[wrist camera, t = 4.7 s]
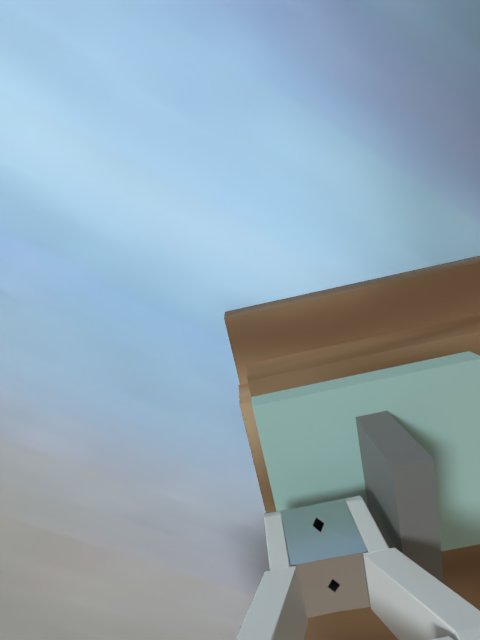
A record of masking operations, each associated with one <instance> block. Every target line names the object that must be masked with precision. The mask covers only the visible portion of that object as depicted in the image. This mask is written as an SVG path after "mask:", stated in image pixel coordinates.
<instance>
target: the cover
mask: <svg viewBox="0 0 480 640" xmlns="http://www.w3.org/2000/svg"><path fill="white" fill-rule="evenodd" d="M251 402H252V408H253V413H254V417H255V421H256V426H257V430H258V434H259V439H260V443H261V447H262V451H263V456H264V460H265V464H266V469H267V473H268V477H269V481H270V486H271V490H272V494H273V499H274V503H275V507H276V512H277V511H280V512H281V510H287V509H294V508H300V507H306V506H312V505H315V504H320V503H324V502H329V501H334V500H339V499H345V498H350V497H355V496H361V497H362V498H363V500H364V502H365V503H366V505H367V507H368V509H369V511H370V513H371V515H372V517H373V518H374V520H375V522H376V524H377V526H378V528H379V530H380V532H381V534H382V535H383V537H384V539H385V541H386V543H387V545H388V547H389V548H396V549H397V550H399V551H400V552H401V553H403V554H404V555H405V556H407V557H408V558H410V559H411V560H412V561H414V562H415V563H416V564H418V565H419V566H420V567H422V568H423V569H424V570H426V571H427V572H428V573H430V574H431V575H432V576H434V577H435V578H436V579H438V580H439V581H440V582H442V583H443V569H442V556H441V551H447V550H452V549H457V548H462V547H467V546H473V545H478V544H480V355H477V354H475V353H472V352H470V351H467V352H462V353H457V354H453V355H448V356H443V357H439V358H434V359H429V360H424V361H420V362H415V363H410V364H405V365H401V366H396V367H391V368H386V369H382V370H377V371H372V372H367V373H363V374H358V375H353V376H348V377H344V378H339V379H334V380H329V381H325V382H320V383H315V384H310V385H306V386H301V387H296V388H292V389H287V390H282V391H277V392H273V393H268V394H263V395H258V396H254V397H251ZM443 584H444V583H443Z"/></svg>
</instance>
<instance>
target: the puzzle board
mask: <svg viewBox="0 0 480 640" xmlns="http://www.w3.org/2000/svg"><path fill="white" fill-rule="evenodd" d="M224 319H225V323H226V327H227V332H228V336H229V340H230V344H231V348H232V353H233V357H234V361H235V365H236V369H237V373H238V378H239V382H240V385H239V399H240V408H241V412H242V416H243V420H244V424H245V428H246V432H247V437H248V441H249V445H250V449H251V453H252V457H253V461H254V465H255V469H256V474H257V478H258V482H259V486H260V490H261V494H262V498H263V502H264V506H265V510H266V513H271V512H276V507H275V503H274V499H273V494H272V490H271V486H270V481H269V477H268V473H267V469H266V464H265V460H264V456H263V451H262V447H261V443H260V439H259V434H258V430H257V426H256V421H255V417H254V413H253V408H252V402H251V397H254V396H258V395H263V394H268V393H273V392H277V391H282V390H287V389H292V388H296V387H301V386H306V385H310V384H315V383H320V382H325V381H329V380H334V379H339V378H344V377H348V376H353V375H358V374H363V373H367V372H372V371H377V370H382V369H386V368H391V367H396V366H401V365H405V364H410V363H415V362H420V361H424V360H429V359H434V358H439V357H443V356H448V355H453V354H457V353H462V352H467V351H470V352H472V353H475V354H477V355H480V256H477V257H473V258H468V259H464V260H459V261H454V262H450V263H445V264H441V265H436V266H432V267H427V268H423V269H418V270H414V271H409V272H404V273H400V274H395V275H391V276H386V277H382V278H377V279H373V280H368V281H364V282H359V283H355V284H350V285H345V286H341V287H336V288H332V289H327V290H323V291H318V292H314V293H309V294H305V295H300V296H296V297H291V298H286V299H282V300H277V301H273V302H268V303H264V304H259V305H255V306H250V307H246V308H241V309H237V310H232V311H227V312H225V317H224ZM441 556H442V569H443V583H444V585H446V586H447V587H449V588H450V589H451V590H453V591H454V592H455V593H457V594H458V595H459V596H461V597H462V598H463V599H465V600H466V601H467V602H469V603H470V604H471V605H473V606H474V607H475V608H477V609H478V610H479V611H480V544H478V545H473V546H467V547H462V548H457V549H452V550H447V551H441ZM307 619H308V623H307V628H306V632H305V637H304V640H398V639H397V637H396V636H395V635H394V634H393V633H392V632H391V631H390V630H389V628H388V627H387V626H386V625H385V624H384V623H383V622H382V621H381V620H380V618H379V617H378V616H377V615H376V614H375V613H374V612H373V611H372V609H371V607H366V608H359V609H352V610H345V611H338V612H333V613H329V614H324V615H320V616H315V617H311V618H307Z"/></svg>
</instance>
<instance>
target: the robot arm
mask: <svg viewBox="0 0 480 640" xmlns="http://www.w3.org/2000/svg"><path fill="white" fill-rule="evenodd" d="M264 522H265V531H266V540H267V549H268V558H269V567H270V571H265V572H264V575H263V577H262V579H261V582H260V584H259V586H258V589H257V591H256V593H255V596H254V598H253V600H252V603H251V605H250V607H249V610H248V612H247V614H246V617H245V619H244V621H243V624H242V626H241V628H240V631H239V633H238V635H237V638H236V640H304V637H305V632H306V628H307V623H308V619H307V618H311V617H315V616H320V615H324V614H329V613H333V612H338V611H345V610H352V609H359V608H366V607H371V609H372V611H373V612H374V613H375V614H376V615H377V616H378V617H379V618H380V620H381V621H382V622H383V623H384V624H385V625H386V626H387V627H388V628H389V630H390V631H391V632H392V633H393V634H394V635H395V636H396V637H397V639H398V640H480V611H479V610H478V609H477V608H475V607H474V606H473V605H471V604H470V603H469V602H467V601H466V600H465V599H463V598H462V597H461V596H459V595H458V594H457V593H455V592H454V591H453V590H451V589H450V588H449V587H447V586H446V585H444V584H443V583H442V582H440V581H439V580H438V579H436V578H435V577H434V576H432V575H431V574H430V573H428V572H427V571H426V570H424V569H423V568H422V567H420V566H419V565H418V564H416V563H415V562H414V561H412V560H411V559H410V558H408V557H407V556H405V555H404V554H403V553H401V552H400V551H399V550H397V549H396V548H389V547H388V545H387V543H386V541H385V539H384V537H383V535H382V534H381V532H380V530H379V528H378V526H377V524H376V522H375V520H374V518H373V517H372V515H371V513H370V511H369V509H368V507H367V505H366V503H365V502H364V500H363V498H362V497H361V496H355V497H350V498H345V499H339V500H334V501H329V502H324V503H320V504H315V505H312V506H306V507H300V508H294V509H287V510H281V512H280V511H277V512H271V513H265V514H264Z"/></svg>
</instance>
